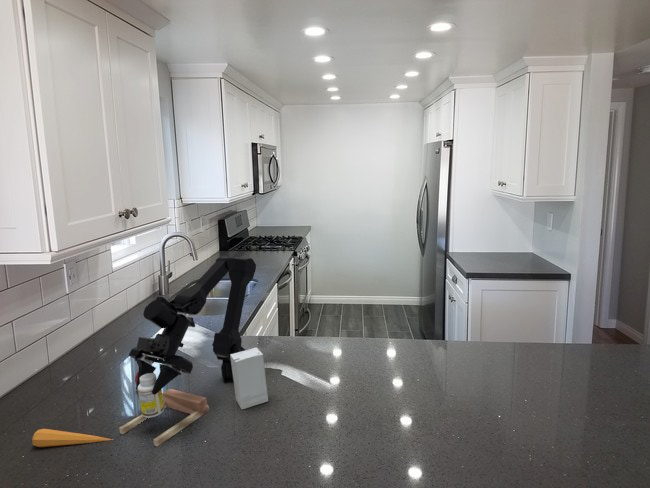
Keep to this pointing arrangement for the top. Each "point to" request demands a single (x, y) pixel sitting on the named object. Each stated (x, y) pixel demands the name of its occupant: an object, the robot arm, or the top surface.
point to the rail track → (178, 402)
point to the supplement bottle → (150, 396)
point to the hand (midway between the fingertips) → (145, 391)
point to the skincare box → (249, 378)
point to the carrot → (62, 438)
